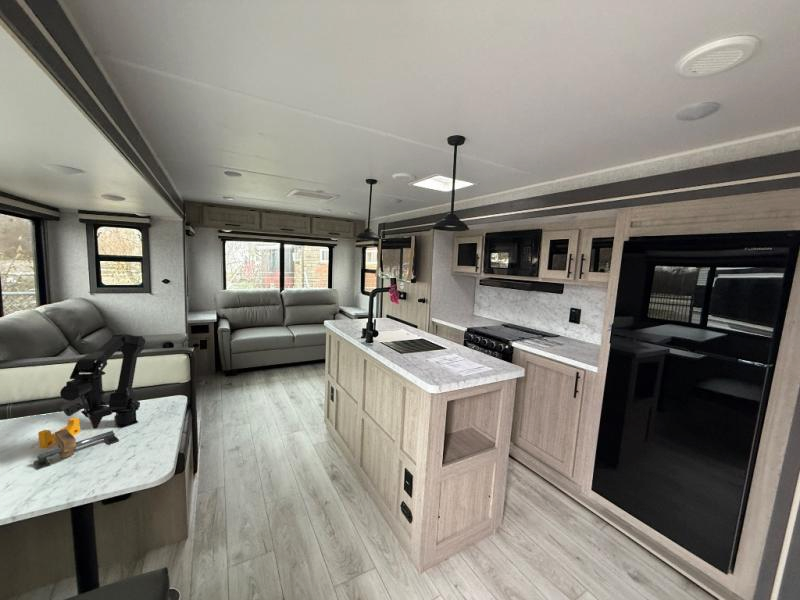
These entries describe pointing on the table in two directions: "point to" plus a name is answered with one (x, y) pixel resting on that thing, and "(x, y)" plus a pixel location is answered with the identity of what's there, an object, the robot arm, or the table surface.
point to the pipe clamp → (49, 439)
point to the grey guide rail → (108, 437)
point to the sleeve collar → (65, 442)
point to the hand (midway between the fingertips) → (95, 428)
